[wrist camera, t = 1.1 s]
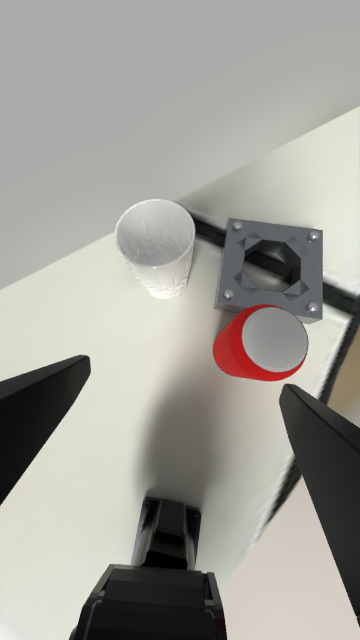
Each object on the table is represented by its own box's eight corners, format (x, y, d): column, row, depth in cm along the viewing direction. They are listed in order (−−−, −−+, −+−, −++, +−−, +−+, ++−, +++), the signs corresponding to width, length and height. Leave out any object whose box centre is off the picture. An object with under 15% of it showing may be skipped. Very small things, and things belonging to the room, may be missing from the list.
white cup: (128, 276, 29) (98, 228, 19) (168, 245, 30) (160, 185, 20) (161, 314, 27) (148, 284, 17) (203, 280, 28) (212, 233, 18)
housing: (309, 323, 26) (325, 318, 23) (214, 308, 27) (217, 301, 24) (311, 241, 29) (325, 227, 26) (225, 230, 30) (229, 215, 27)
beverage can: (210, 373, 25) (231, 377, 13) (213, 326, 26) (234, 293, 15) (258, 378, 25) (323, 387, 13) (258, 331, 26) (317, 301, 14)
